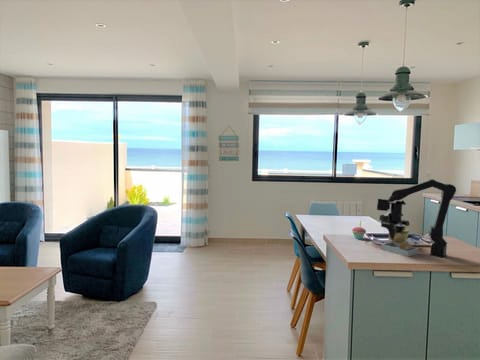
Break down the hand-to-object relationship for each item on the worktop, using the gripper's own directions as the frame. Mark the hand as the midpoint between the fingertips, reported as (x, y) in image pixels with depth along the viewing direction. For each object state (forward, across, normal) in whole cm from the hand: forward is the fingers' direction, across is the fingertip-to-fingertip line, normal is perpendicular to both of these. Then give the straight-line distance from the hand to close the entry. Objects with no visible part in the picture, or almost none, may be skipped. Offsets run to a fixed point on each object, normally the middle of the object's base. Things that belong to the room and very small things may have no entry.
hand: (394, 238), depth 190 cm
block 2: (+6, 0, +7) cm, 9 cm away
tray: (+6, 0, +3) cm, 7 cm away
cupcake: (+7, -4, -28) cm, 29 cm away
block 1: (+1, 0, 0) cm, 1 cm away
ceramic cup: (+7, -12, -6) cm, 15 cm away
